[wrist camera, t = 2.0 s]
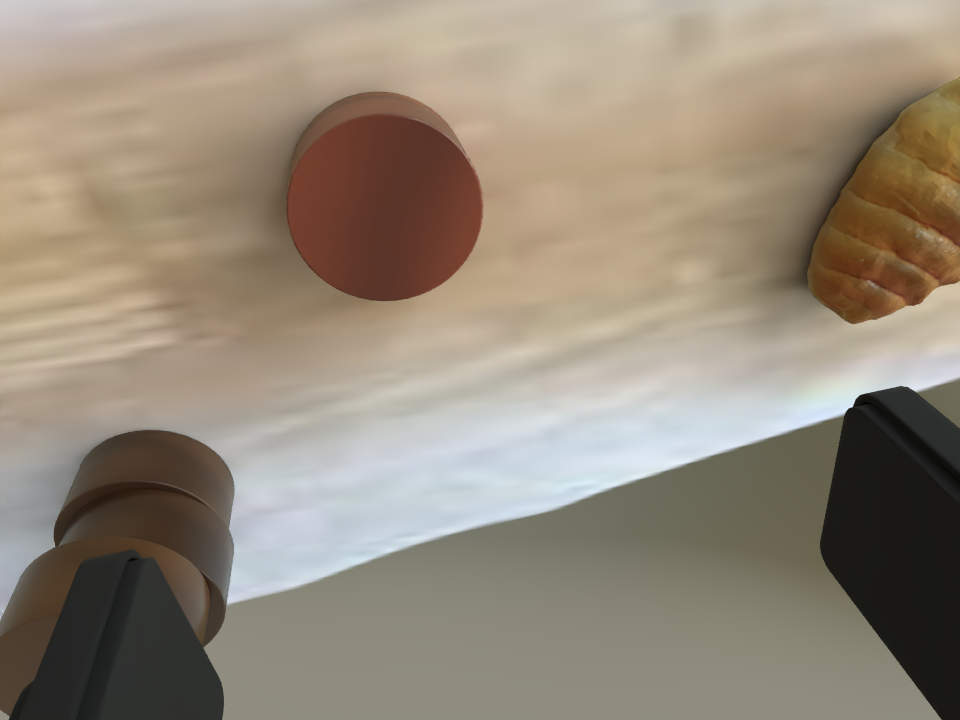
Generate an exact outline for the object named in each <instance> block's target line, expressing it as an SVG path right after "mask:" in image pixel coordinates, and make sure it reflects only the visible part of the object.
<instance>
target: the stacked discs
mask: <svg viewBox="0 0 960 720" xmlns="http://www.w3.org/2000/svg"><path fill="white" fill-rule="evenodd" d="M233 498H234V482H233V478H232V475H231V472H230V470H229V469H228V467H227V465H226V464H225V462H224V461H223V460H222V459H221V458H220V457H219V456H218V455H217V454H216V453H215V452H214V451H213V450H211V449H210V448H209V447H207V446H206V445H204V444H202V443H201V442H199V441H197V440H194V439H192V438H190V437H187V436H184V435H181V434H177V433H172V432H166V431H155V430H146V431H135V432H129V433H125V434H122V435H118V436H115V437H113V438H111V439H108V440H106V441H105V442H103V443H101V444H100V445H98V446H97V447H96V448H94V449H93V450H92V451H91V452H90V453H89V454H88V455H87V456H86V457H85V459H84V460H83V462H82V463H81V466H80V468H79V470H78V472H77V475H76V477H75V479H74V481H73V484H72V486H71V488H70V491H69V493H68V495H67V497H66V500H65V502H64V504H63V507H62V509H61V511H60V513H59V516H58V518H57V520H56V523H55V527H54V542H55V548H52V549H51V550H49V551H47V552H45V553H44V554H42V555H41V556H39V557H38V558H37V559H35V560H34V561H33V562H32V563H31V564H30V565H29V566H28V567H27V568H26V569H25V571H24V572H23V574H22V575H21V577H20V579H19V581H18V583H17V585H16V588H15V590H14V592H13V594H12V596H11V599H10V601H9V603H8V605H7V607H6V610H5V612H4V614H3V616H2V618H1V621H0V710H1V711H3V712H4V713H6V714H7V715H9V716H11V713H12V711H13V708H14V706H15V703H16V702H17V700H18V698H19V696H20V694H21V692H22V690H23V689H24V688H25V687H26V686H27V685H28V684H29V683H30V682H31V681H34V679H35V677H36V674H37V671H38V669H39V666H40V664H41V661H42V659H43V656H44V653H45V651H46V648H47V646H48V643H49V641H50V638H51V636H52V633H53V630H54V628H55V625H56V623H57V620H58V618H59V615H60V613H61V610H62V607H63V605H64V602H65V600H66V597H67V595H68V592H69V589H70V587H71V584H72V582H73V579H74V577H75V574H76V572H77V569H78V567H79V566H80V564H81V562H83V561H84V560H85V559H88V558H93V557H97V556H102V555H107V554H111V553H116V552H121V551H126V550H132V549H134V550H135V551H137V552H138V553H139V554H140V555H141V557H142V558H148V557H152V558H153V559H155V561H156V562H157V563H158V565H159V567H160V569H161V571H162V573H163V574H164V576H165V578H166V580H167V582H168V584H169V586H170V587H171V589H172V591H173V593H174V595H175V597H176V599H177V600H178V602H179V604H180V606H181V608H182V610H183V612H184V613H185V615H186V617H187V619H188V621H189V623H190V625H191V626H192V628H193V630H194V632H195V634H196V636H197V637H198V639H199V641H200V643H201V645H202V647H205V646H206V645H207V644H208V643H209V642H210V641H211V640H212V639H213V638H214V637H215V636H216V635H217V633H218V631H219V630H220V628H221V626H222V624H223V621H224V617H225V612H226V605H227V597H228V590H229V583H230V576H231V569H232V562H233V555H234V543H233V538H232V536H231V533H230V531H229V524H230V517H231V511H232V505H233Z"/></svg>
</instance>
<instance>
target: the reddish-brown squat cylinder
mask: <svg viewBox="0 0 960 720" xmlns="http://www.w3.org/2000/svg"><path fill="white" fill-rule="evenodd" d="M286 211H287V221H288V226H289V230H290V234H291V237H292V239H293V242H294V244H295V246H296V248H297V250H298V252H299V253H300V255H301V257H302V258H303V260H304V261H305V262H306V264H307V265H308V266H309V267H310V268H311V269H312V270H313V271H314V272H315V273H316V274H317V275H318V276H319V277H320V278H321V279H323V280H324V281H325V282H326V283H328V284H330V285H331V286H333V287H335V288H336V289H338V290H340V291H342V292H345V293H347V294H349V295H352V296H355V297H359V298H363V299H368V300H376V301H396V300H402V299H408V298H411V297H415V296H418V295H421V294H423V293H426V292H428V291H430V290H432V289H434V288H436V287H437V286H439V285H441V284H442V283H443V282H445V281H446V280H448V279H449V278H450V277H451V276H452V275H453V274H454V273H455V272H456V271H458V269H459V268H460V267H461V266H462V265H463V263H464V262H465V261H466V260H467V258H468V256H469V255H470V253H471V252H472V250H473V248H474V246H475V243H476V241H477V239H478V236H479V232H480V229H481V224H482V218H483V197H482V190H481V186H480V182H479V179H478V176H477V174H476V171H475V169H474V167H473V165H472V163H471V161H470V160H469V158H468V156H467V154H466V153H465V151H464V149H463V147H462V145H461V144H460V142H459V140H458V138H457V137H456V135H455V133H454V132H453V131H452V129H451V128H450V126H449V125H448V124H447V123H446V122H445V121H444V120H443V119H442V118H441V117H440V116H439V115H438V114H437V113H436V112H434V111H433V110H432V109H431V108H429V107H428V106H426V105H424V104H423V103H421V102H419V101H417V100H414V99H412V98H410V97H407V96H403V95H400V94H395V93H388V92H368V93H361V94H356V95H353V96H349V97H346V98H344V99H342V100H340V101H337V102H335V103H334V104H332V105H330V106H329V107H327V108H326V109H324V110H323V111H322V112H321V113H320V114H318V115H317V116H316V117H315V118H314V119H313V120H312V122H311V123H310V124H309V125H308V126H307V128H306V129H305V131H304V132H303V134H302V135H301V137H300V139H299V141H298V143H297V145H296V148H295V151H294V154H293V158H292V164H291V170H290V177H289V185H288V192H287V207H286Z"/></svg>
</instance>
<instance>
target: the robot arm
mask: <svg viewBox="0 0 960 720" xmlns="http://www.w3.org/2000/svg"><path fill="white" fill-rule="evenodd" d="M820 548H821V554H822V557H823V560H824V562H825V564H826V566H827V568H828V569H829V570H830V572H831V573H832V574H833V576H834V577H835V579H836V580H837V581H838V583H839V584H840V585H841V587H842V588H843V589H844V590H845V592H846V593H847V594H848V596H849V597H850V598H851V600H852V601H853V602H854V604H855V605H856V606H857V608H858V609H859V610H860V612H861V613H862V614H863V616H864V617H865V618H866V620H867V621H868V622H869V624H870V625H871V626H872V628H873V629H874V630H875V631H876V633H877V634H878V636H879V637H880V638H881V640H882V641H883V642H884V643H885V645H886V646H887V647H888V649H889V650H890V652H891V653H892V654H893V655H894V657H895V658H896V659H897V661H898V662H899V663H900V665H901V666H902V667H903V669H904V670H905V671H906V673H907V674H908V675H909V677H910V678H911V679H912V681H913V682H914V683H915V685H916V686H917V687H918V689H919V690H920V691H921V693H922V694H923V695H924V697H925V698H926V699H927V701H928V702H929V703H930V705H931V706H932V707H933V709H934V710H935V711H936V713H937V714H938V715H939V717H940V718H941V719H942V720H960V428H958V427H957V426H956V425H955V424H954V423H952V422H951V421H950V420H949V419H948V418H946V417H945V416H944V415H943V414H942V413H940V412H939V411H938V410H937V409H935V408H934V407H933V406H932V405H931V404H929V403H928V402H927V401H926V400H925V399H923V398H922V397H921V396H920V395H918V394H917V393H916V392H915V391H913V390H912V389H910V388H908V387H903V386H899V387H895V388H890V389H885V390H881V391H876V392H871V393H866V394H863V395H860V396H859V397H858V398H857V399H856V400H855V403H854V406H853V407H852V408H849V409H848V410H847V411H846V413H845V416H844V421H843V426H842V431H841V436H840V442H839V447H838V452H837V457H836V462H835V468H834V474H833V478H832V483H831V489H830V494H829V499H828V504H827V510H826V514H825V520H824V525H823V531H822V535H821V541H820ZM223 708H224V696H223V688H222V684H221V681H220V679H219V677H218V675H217V673H216V671H215V669H214V667H213V666H212V664H211V662H210V660H209V658H208V656H207V654H206V653H205V651H204V649H203V647H202V645H201V643H200V641H199V639H198V637H197V636H196V634H195V632H194V630H193V628H192V626H191V625H190V623H189V621H188V619H187V617H186V615H185V613H184V612H183V610H182V608H181V606H180V604H179V602H178V600H177V599H176V597H175V595H174V593H173V591H172V589H171V587H170V586H169V584H168V582H167V580H166V578H165V576H164V574H163V573H162V571H161V569H160V567H159V565H158V563H157V562H156V561H155V559H153V558H152V557H148V558H142V557H141V555H140V554H139V553H138V552H137V551H135V550H134V549H132V550H126V551H121V552H116V553H111V554H107V555H102V556H97V557H93V558H88V559H85V560H84V561H83V562H81V564H80V566H79V567H78V569H77V572H76V574H75V577H74V579H73V582H72V584H71V587H70V589H69V592H68V595H67V597H66V600H65V602H64V605H63V607H62V610H61V613H60V615H59V618H58V620H57V623H56V625H55V628H54V630H53V633H52V636H51V638H50V641H49V643H48V646H47V648H46V651H45V653H44V656H43V659H42V661H41V664H40V666H39V669H38V671H37V674H36V677H35V679H34V681H31V682H30V683H29V684H28V685H27V686H26V687H25V688H24V689H23V690H22V692H21V694H20V696H19V698H18V700H17V702H16V703H15V706H14V708H13V711H12V713H11V716H10V718H9V720H222V716H223Z"/></svg>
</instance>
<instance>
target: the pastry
mask: <svg viewBox="0 0 960 720" xmlns="http://www.w3.org/2000/svg"><path fill="white" fill-rule="evenodd" d="M807 279H808V284H809V289H810V292H811V294H812V295H813V296H814V297H815V298H816V299H817V300H818V301H819V302H821V303H822V304H823V305H824V306H826V307H828V308H829V309H831V310H832V311H834V312H835V313H836V314H838V315H839V316H840V317H841V318H842V319H844V320H845V321H847V322H849V323H851V324H857V323H862V322H864V321H867V320H870V319H873V320H876V319H878V318H881V317H884V316H887V315H889V314H892V313H893V312H895V311H897V310H899V309H901V308H903V307H905V306H914V305H916V304H920V303H921V302H922V301H923V300H924V299H925V298H926V297H927V296H928V295H929V294H930V293H931V292H932V291H933V290H934V289H935V288H937V287H940V286H943V285H948V284H954V283H957V282H959V281H960V77H959V78H957V79H955V80H953V81H951V82H949V83H947V84H945V85H944V86H942V87H940V88H939V89H937V90H935V91H934V92H932V93H930V94H929V95H927V96H925V97H923V98H921V99H919V100H917V101H916V102H914V103H912V104H911V105H909V106H908V107H906V108H905V109H904V110H902V111H901V112H900V115H899V117H898V118H897V119H896V121H895V122H894V123H893V125H892V126H891V127H890V128H889V129H888V130H887V131H886V132H885V133H884V134H883V135H881V136H880V137H878V138H877V139H876V140H875V141H874V143H873V144H872V146H871V147H870V149H869V150H868V152H867V154H866V155H865V157H864V158H863V159H862V160H861V161H860V163H859V164H858V166H857V169H856V171H855V173H854V175H853V176H852V177H851V179H850V180H849V181H848V183H847V184H846V186H845V187H844V188H843V189H842V190H841V195H840V197H839V199H838V201H837V202H836V204H835V205H834V207H831V211H830V213H829V215H828V216H827V218H826V220H825V222H824V223H823V225H822V227H821V229H820V231H819V234H818V237H817V239H816V241H815V243H814V246H813V251H812V257H811V261H810V265H809V268H808V271H807Z"/></svg>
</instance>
